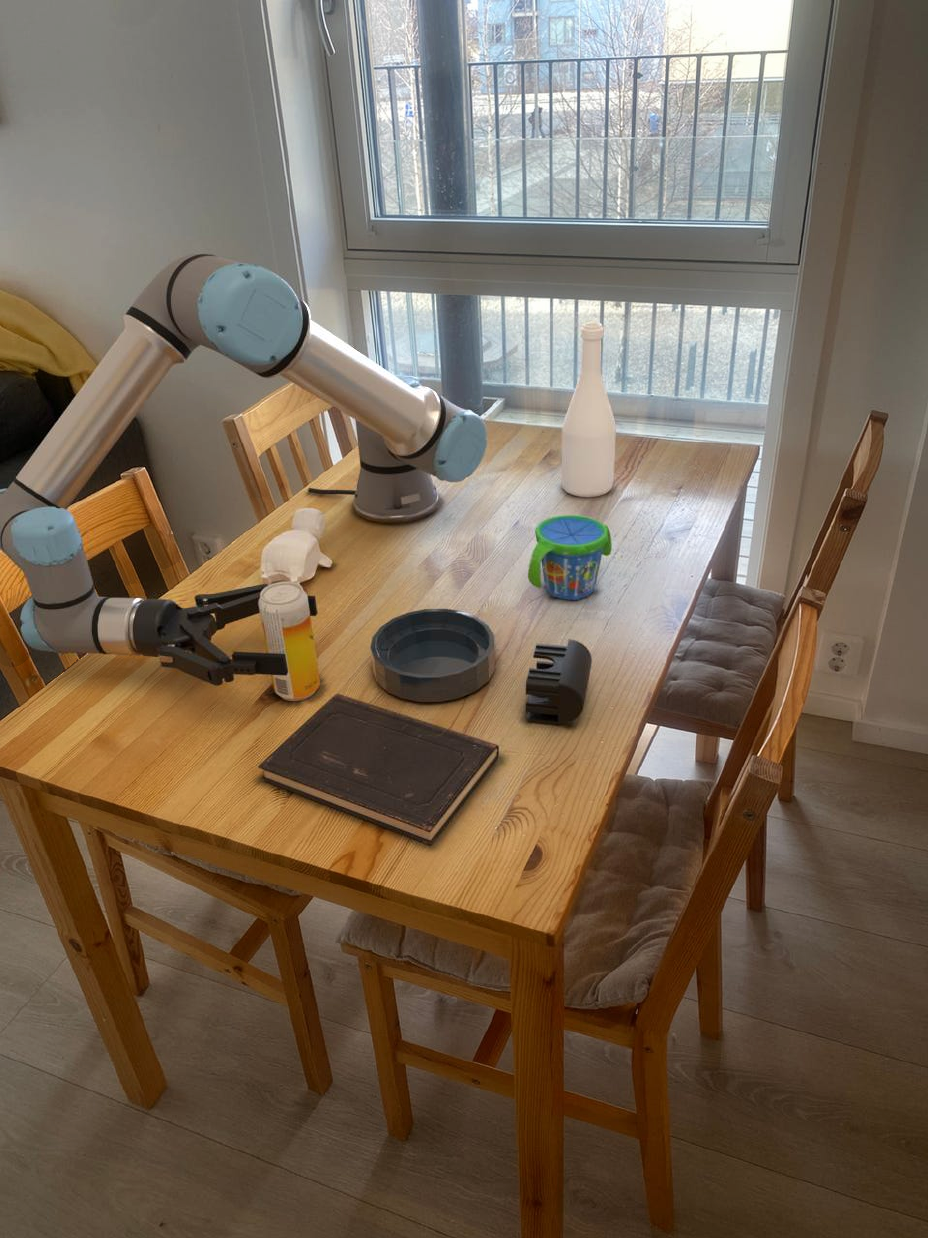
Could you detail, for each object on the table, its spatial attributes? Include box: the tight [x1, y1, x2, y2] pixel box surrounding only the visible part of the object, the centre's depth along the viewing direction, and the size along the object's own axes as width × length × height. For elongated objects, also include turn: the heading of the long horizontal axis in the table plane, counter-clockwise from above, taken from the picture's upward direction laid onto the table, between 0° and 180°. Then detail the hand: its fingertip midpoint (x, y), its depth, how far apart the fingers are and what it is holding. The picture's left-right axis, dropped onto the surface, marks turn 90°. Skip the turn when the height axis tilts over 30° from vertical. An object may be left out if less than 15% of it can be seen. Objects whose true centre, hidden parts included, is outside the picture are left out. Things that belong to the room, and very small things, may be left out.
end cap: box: [525, 638, 593, 726], centre depth 118 cm, size 10×7×7 cm
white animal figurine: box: [260, 507, 333, 586], centre depth 151 cm, size 9×8×15 cm
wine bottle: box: [560, 321, 617, 498], centre depth 167 cm, size 10×10×30 cm
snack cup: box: [527, 514, 613, 601], centre depth 141 cm, size 16×10×10 cm
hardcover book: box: [257, 693, 500, 846], centre depth 110 cm, size 16×23×2 cm
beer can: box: [258, 582, 321, 702], centre depth 121 cm, size 6×6×15 cm
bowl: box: [370, 608, 496, 703], centre depth 127 cm, size 16×16×4 cm
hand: (301, 634), depth 120 cm, fingers open, 13 cm apart
